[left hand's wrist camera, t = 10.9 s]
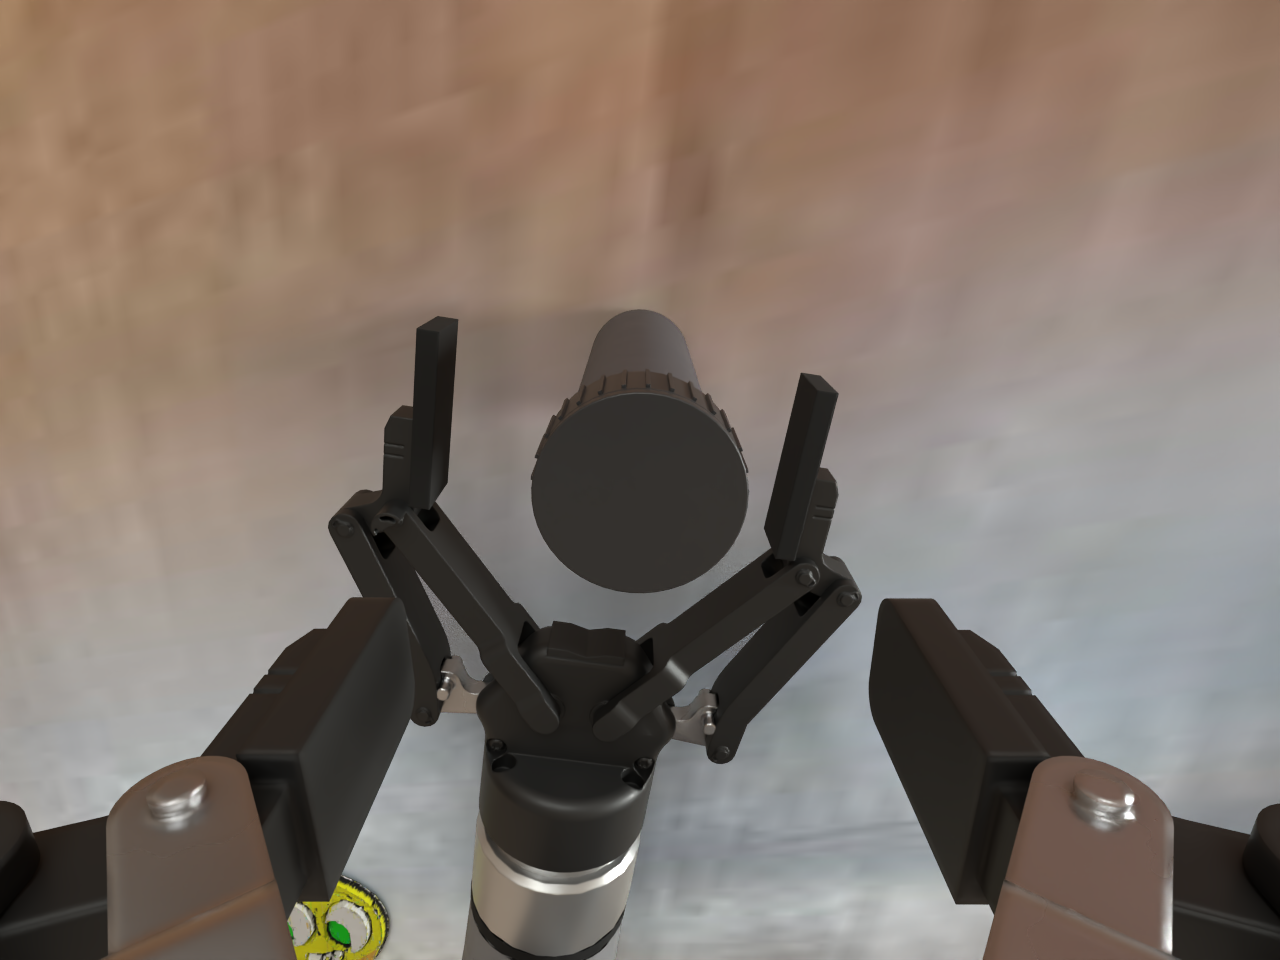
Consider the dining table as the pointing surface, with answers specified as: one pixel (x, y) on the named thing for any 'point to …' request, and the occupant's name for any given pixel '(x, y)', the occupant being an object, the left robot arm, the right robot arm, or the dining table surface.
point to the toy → (340, 925)
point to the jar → (640, 348)
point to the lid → (639, 483)
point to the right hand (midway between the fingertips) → (631, 352)
